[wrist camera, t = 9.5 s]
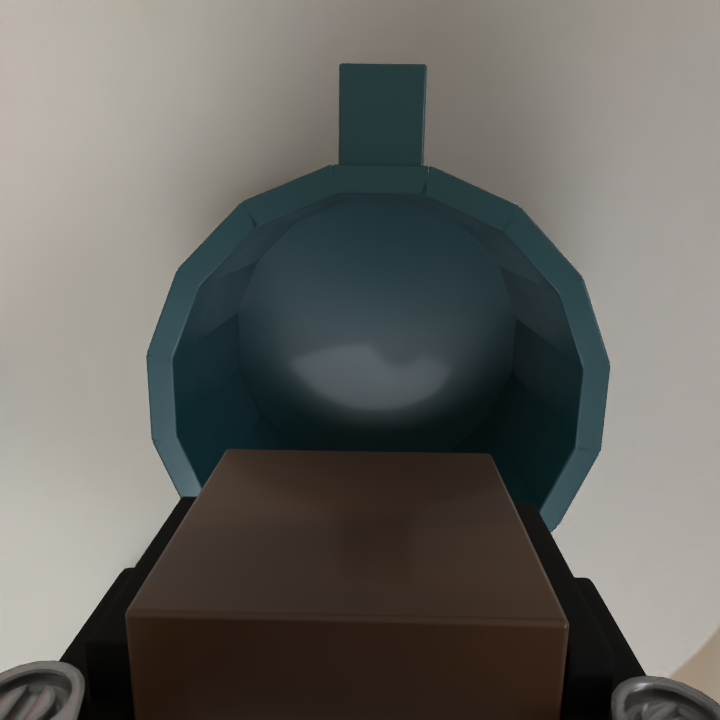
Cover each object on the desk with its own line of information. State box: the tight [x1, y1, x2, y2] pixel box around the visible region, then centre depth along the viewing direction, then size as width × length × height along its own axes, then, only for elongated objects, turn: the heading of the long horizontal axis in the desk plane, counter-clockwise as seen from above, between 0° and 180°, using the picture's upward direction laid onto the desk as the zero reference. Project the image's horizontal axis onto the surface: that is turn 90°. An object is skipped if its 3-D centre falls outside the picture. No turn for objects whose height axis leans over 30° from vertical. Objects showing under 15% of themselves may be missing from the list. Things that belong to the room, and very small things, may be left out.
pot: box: [146, 63, 610, 532], centre depth 23 cm, size 14×19×10 cm
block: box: [125, 449, 569, 720], centre depth 9 cm, size 5×5×5 cm
